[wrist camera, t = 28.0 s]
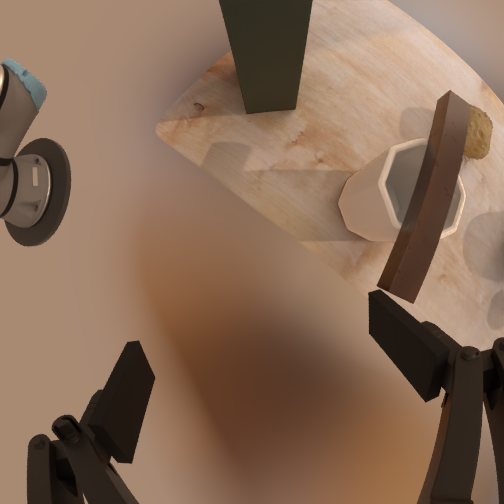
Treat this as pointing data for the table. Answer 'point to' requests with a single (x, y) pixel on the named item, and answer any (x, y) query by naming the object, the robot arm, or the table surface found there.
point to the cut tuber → (478, 134)
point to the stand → (268, 49)
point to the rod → (428, 200)
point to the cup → (390, 194)
